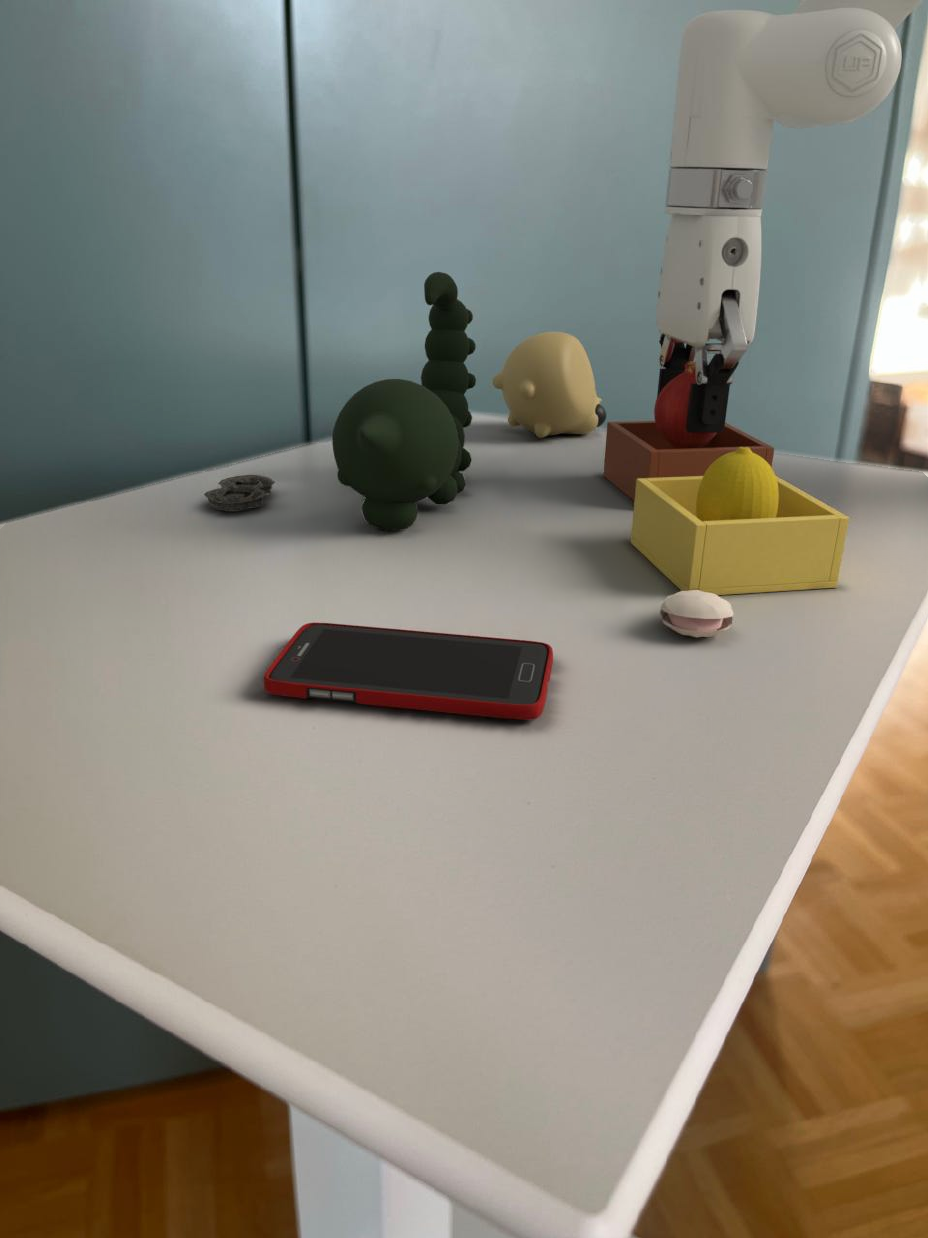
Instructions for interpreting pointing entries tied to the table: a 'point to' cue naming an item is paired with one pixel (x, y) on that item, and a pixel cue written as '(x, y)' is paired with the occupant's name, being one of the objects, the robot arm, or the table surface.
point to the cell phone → (414, 670)
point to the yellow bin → (738, 541)
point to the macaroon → (696, 613)
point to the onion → (678, 412)
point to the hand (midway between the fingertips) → (688, 420)
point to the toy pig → (550, 386)
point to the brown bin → (666, 453)
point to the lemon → (738, 488)
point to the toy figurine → (412, 423)
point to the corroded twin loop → (240, 492)
